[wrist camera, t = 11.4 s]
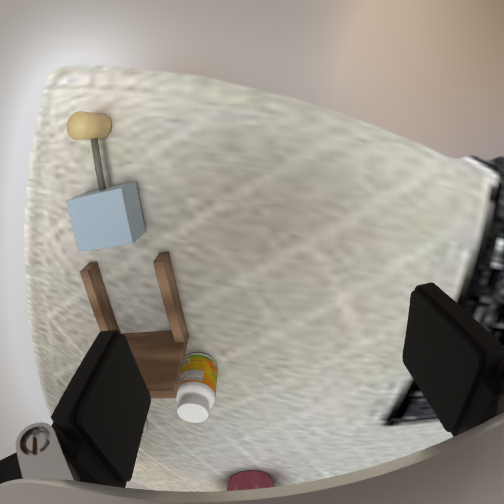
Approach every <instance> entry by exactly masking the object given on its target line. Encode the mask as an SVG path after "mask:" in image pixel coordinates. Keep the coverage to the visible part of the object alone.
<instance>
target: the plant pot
mask: <svg viewBox="0 0 504 504" xmlns="http://www.w3.org/2000/svg"><path fill="white" fill-rule="evenodd" d="M270 487H274V485H273V483H272V480H271V478H270V476H269V475H268V474H267V473H264V472H261V471H243V472H239V473H236V474H234V475H233V476H232V477H231V478H230V482H229V485H228V488H227V491H237V490H251V489H261V488H270Z"/></svg>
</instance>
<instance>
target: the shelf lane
mask: <svg viewBox="0 0 504 504" xmlns="http://www.w3.org/2000/svg"><path fill="white" fill-rule="evenodd" d="M153 263H154V267H155V271H156V275H157V279H158V283H159V287H160V290H161V294H162V298H163V302H164V305H165V309H166V313H167V316H168V320H169V323H170V327H171V330H172V331H159V332H144V333H128V334H124V335H125V337H126V339H127V341H128V344H129V346H130V349H131V351H132V354H133V356H134V359H135V361H136V363H137V366H138V368H139V370H140V373H141V375H142V377H143V379H144V381H145V384H146V386H147V388H148V390H149V392H150V396H151V398H176V396H177V391H178V386H179V381H180V376H181V372H182V367H183V362H184V357H185V353H186V348H187V343H188V339H189V334H188V330H187V327H186V323H185V319H184V315H183V311H182V307H181V303H180V299H179V295H178V291H177V287H176V283H175V279H174V274H173V270H172V265H171V261H170V256H169V252H164V253H159V254H158V256H157V257H156V259H155V260H154V262H153ZM80 273H81V277H82V280H83V283H84V286H85V289H86V292H87V295H88V298H89V301H90V303H91V306H92V309H93V312H94V315H95V317H96V320H97V322H98V325H99V328H100V330H101V331H106V330H118V331H119V328H118V326H117V323H116V320H115V317H114V314H113V311H112V309H111V306H110V303H109V300H108V297H107V294H106V290H105V287H104V284H103V281H102V278H101V274H100V271H99V268H98V264H97V262H91V263H89V264H88V265H87V266H85V267H84V268H83V269H82V270H81V271H80ZM119 332H120V331H119Z"/></svg>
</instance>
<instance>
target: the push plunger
mask: <svg viewBox="0 0 504 504" xmlns="http://www.w3.org/2000/svg"><path fill="white" fill-rule="evenodd" d="M110 130H111V120H110V118H109V117H108V116H106V115H103V114H96V113H89V112H81V111H79V112H76V113H74V114H73V115H72V116H71V117H70V118H69V120H68V122H67V133H68V135H69V136H70V137H71V138H72V139H74V140H86V139H91V144H92V151H93V157H94V164H95V170H96V175H97V181H98V186H99V190H95V191H90V192H86V193H84V194H81V195H79V196H76V197H74V198H71V199H69V200H67V206H68V210H69V215H70V219H71V223H72V227H73V231H74V235H75V239H76V243H77V246H78V250H79V252H83V251H89V250H95V249H102V248H108V247H115V246H121V245H128V244H133V243H134V242H135V241H136V240H137V239H138V238H139V237H140V236H141V235H142V234H143V233H144V232H145V231H146V230H145V225H144V220H143V215H142V210H141V205H140V200H139V195H138V189H137V184H136V182H131V183H126V184H122V185H117V186H112V187H108V188H106V187H105V181H104V176H103V170H102V164H101V158H100V151H99V145H98V139H102V138H105V137H106V136H107V135H108V134H109V132H110Z"/></svg>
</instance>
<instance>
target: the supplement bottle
mask: <svg viewBox="0 0 504 504" xmlns="http://www.w3.org/2000/svg"><path fill="white" fill-rule="evenodd" d="M216 382H217V364H216V362H215V361H214V359H213V358H211V357H210V356H208V355H206V354H203V353H192V354H189V355H187V356H186V357H185V358H184V362H183V367H182V372H181V376H180V381H179V386H178V391H177V396H176V398H175V399H176V401H177V403H178V408H177V413H178V415H179V417H180V418H181V419H183V420H185V421H187V422H191V423H200V422H203V421H205V420H206V419H207V418H208V416H209V409H210V408H211V407H212V406H213V405H214V403H215V398H216Z"/></svg>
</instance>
